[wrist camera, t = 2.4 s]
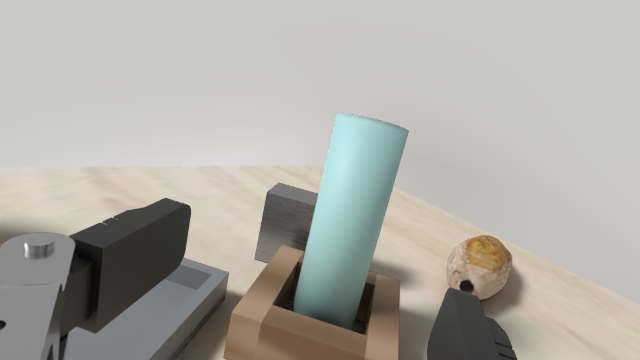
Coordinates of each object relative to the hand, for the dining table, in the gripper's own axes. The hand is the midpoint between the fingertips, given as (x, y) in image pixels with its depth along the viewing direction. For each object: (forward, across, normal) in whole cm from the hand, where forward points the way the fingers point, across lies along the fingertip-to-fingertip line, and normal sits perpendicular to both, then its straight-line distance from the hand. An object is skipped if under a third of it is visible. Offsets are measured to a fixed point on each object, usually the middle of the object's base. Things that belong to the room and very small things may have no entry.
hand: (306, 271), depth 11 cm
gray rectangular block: (+19, +3, +10) cm, 22 cm away
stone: (+26, -13, +10) cm, 31 cm away
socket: (+11, 0, +10) cm, 15 cm away
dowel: (+11, 0, +10) cm, 15 cm away
